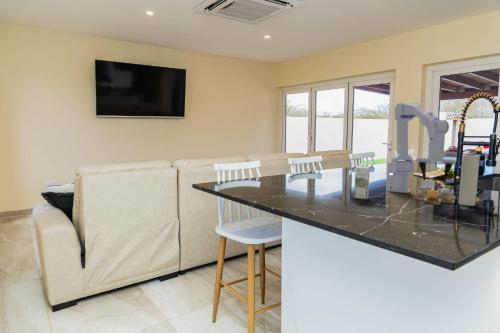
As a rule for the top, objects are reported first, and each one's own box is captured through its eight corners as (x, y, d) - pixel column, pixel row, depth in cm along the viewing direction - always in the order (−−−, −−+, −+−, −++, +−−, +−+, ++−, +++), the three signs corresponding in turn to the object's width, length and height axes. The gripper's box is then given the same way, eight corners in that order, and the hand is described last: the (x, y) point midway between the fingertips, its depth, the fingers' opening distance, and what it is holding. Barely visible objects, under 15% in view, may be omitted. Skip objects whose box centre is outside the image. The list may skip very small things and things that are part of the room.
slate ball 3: (439, 196, 157) (440, 187, 156) (440, 195, 160) (441, 186, 159) (449, 197, 154) (450, 188, 154) (450, 196, 158) (451, 187, 157)
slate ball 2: (438, 198, 152) (439, 189, 152) (439, 196, 156) (440, 188, 155) (449, 199, 150) (449, 190, 150) (449, 198, 154) (450, 189, 153)
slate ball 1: (420, 194, 161) (420, 186, 160) (421, 193, 164) (422, 184, 164) (429, 195, 159) (430, 187, 158) (430, 194, 162) (431, 185, 162)
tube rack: (413, 198, 156) (413, 190, 155) (417, 194, 167) (417, 186, 166) (454, 203, 147) (454, 194, 147) (455, 198, 158) (456, 189, 158)
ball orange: (426, 199, 147) (427, 189, 147) (427, 197, 151) (428, 188, 150) (437, 200, 145) (437, 191, 145) (438, 198, 149) (438, 189, 148)
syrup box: (368, 197, 158) (370, 166, 156) (367, 199, 153) (368, 167, 151) (355, 196, 160) (357, 165, 159) (353, 198, 155) (355, 166, 153)
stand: (422, 203, 147) (423, 198, 147) (424, 200, 153) (425, 195, 152) (439, 205, 144) (440, 200, 144) (441, 202, 149) (441, 197, 149)
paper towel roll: (469, 206, 141) (474, 155, 139) (455, 203, 147) (459, 153, 144) (479, 205, 145) (484, 154, 142) (465, 202, 150) (469, 153, 147)
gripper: (416, 148, 146) (414, 180, 148) (456, 149, 139) (453, 183, 140) (418, 148, 152) (416, 178, 153) (456, 149, 144) (454, 181, 146)
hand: (434, 180), depth 147 cm, fingers open, 7 cm apart
